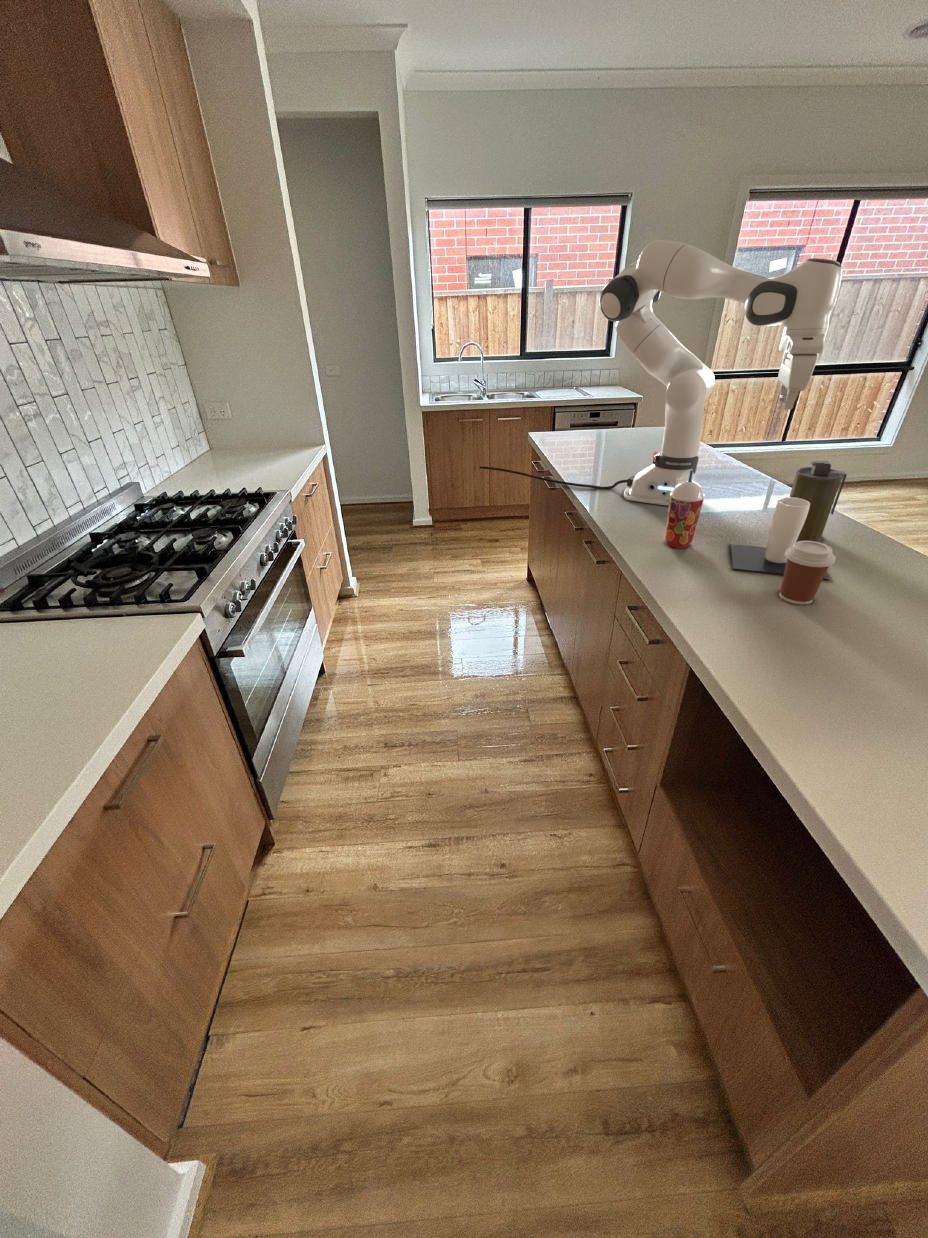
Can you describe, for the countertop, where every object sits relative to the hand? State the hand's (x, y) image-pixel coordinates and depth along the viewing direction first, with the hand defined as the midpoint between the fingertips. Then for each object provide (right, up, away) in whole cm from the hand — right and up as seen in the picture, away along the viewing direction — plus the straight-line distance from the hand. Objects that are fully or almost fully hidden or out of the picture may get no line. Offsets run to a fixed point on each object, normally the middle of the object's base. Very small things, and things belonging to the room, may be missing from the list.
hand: (784, 405), depth 127 cm
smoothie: (-22, -33, +12) cm, 41 cm away
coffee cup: (-6, -48, -14) cm, 51 cm away
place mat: (-2, -39, +1) cm, 39 cm away
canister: (+12, -31, +13) cm, 35 cm away
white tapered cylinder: (-2, -39, +1) cm, 39 cm away
